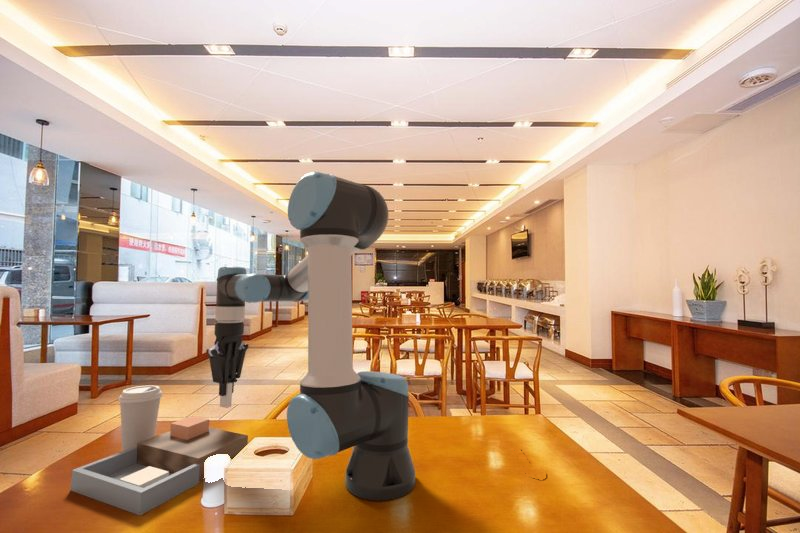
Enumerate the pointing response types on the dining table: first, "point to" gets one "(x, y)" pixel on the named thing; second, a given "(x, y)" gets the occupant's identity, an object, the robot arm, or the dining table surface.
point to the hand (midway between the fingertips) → (225, 406)
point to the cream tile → (145, 476)
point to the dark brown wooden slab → (188, 449)
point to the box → (107, 488)
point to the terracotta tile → (189, 427)
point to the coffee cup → (139, 414)
